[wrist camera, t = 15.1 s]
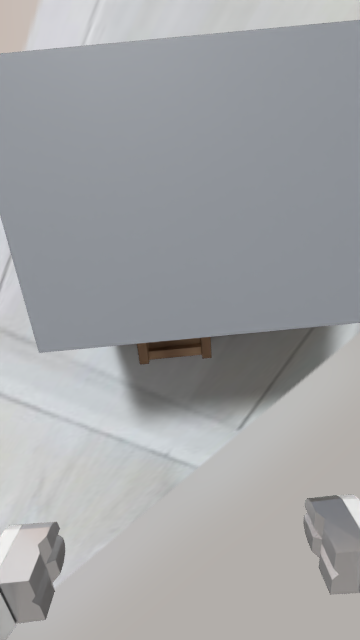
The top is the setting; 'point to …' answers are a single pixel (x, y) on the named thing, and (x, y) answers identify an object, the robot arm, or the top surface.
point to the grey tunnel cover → (184, 185)
